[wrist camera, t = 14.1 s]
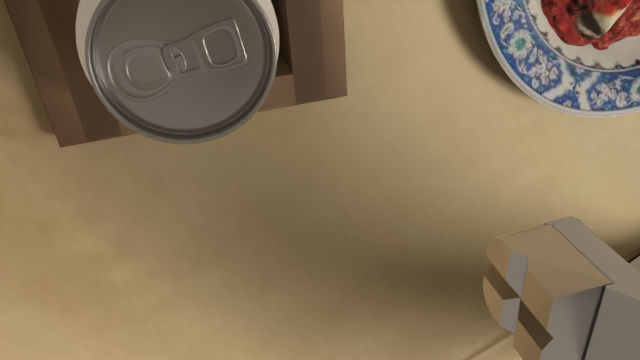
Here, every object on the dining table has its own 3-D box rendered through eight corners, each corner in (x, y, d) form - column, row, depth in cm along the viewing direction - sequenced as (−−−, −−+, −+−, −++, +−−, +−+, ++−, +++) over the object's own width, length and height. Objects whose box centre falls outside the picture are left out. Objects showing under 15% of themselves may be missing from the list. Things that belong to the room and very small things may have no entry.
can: (70, -78, 24) (22, -14, 14) (212, -118, 25) (258, -83, 15) (131, 57, 28) (125, 181, 18) (253, 19, 28) (311, 120, 19)
